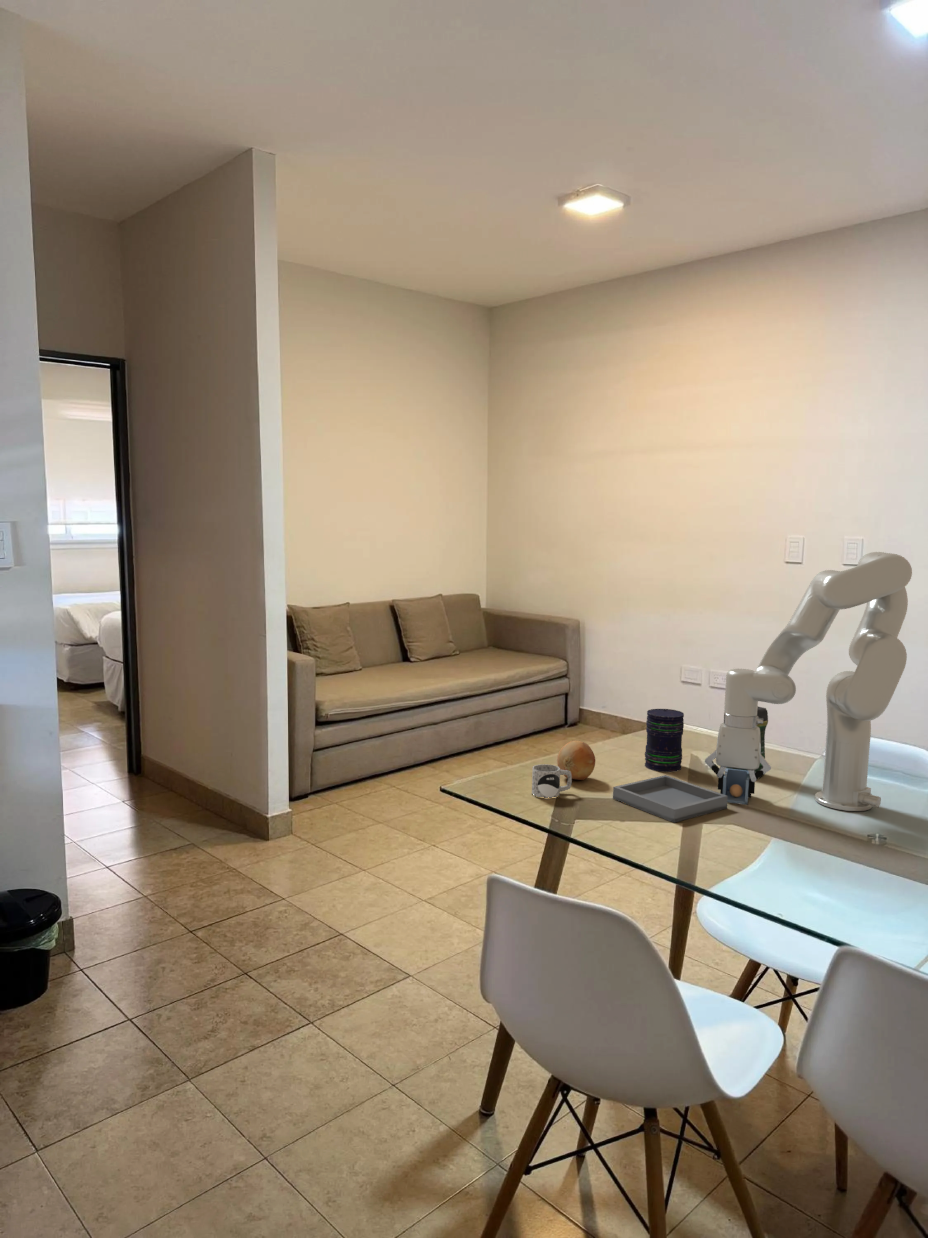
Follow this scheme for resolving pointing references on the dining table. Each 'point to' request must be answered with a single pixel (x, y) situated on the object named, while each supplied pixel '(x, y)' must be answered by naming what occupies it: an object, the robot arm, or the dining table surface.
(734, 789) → the ball
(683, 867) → the dining table surface
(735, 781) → the blue open box
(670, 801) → the tray
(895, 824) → the dining table surface
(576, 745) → the onion
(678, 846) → the dining table surface
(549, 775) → the mug
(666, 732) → the storage jar
